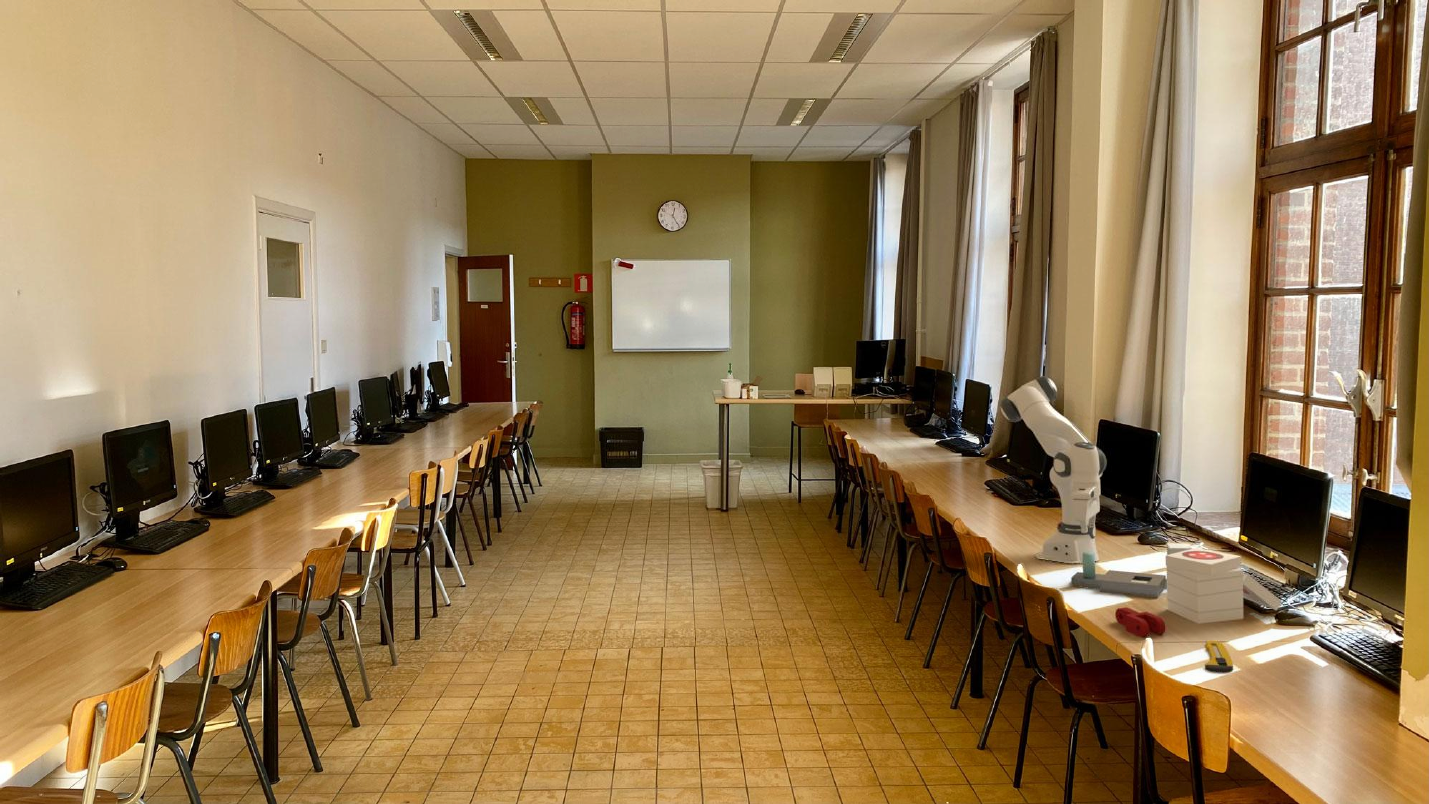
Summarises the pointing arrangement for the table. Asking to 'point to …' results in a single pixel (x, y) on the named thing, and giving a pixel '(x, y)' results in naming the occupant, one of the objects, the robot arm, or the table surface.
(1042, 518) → the table surface
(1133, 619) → the mechanical linkage
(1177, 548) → the supplement box
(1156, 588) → the plate
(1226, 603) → the white stacked boxes
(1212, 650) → the utility knife
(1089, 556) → the peg
